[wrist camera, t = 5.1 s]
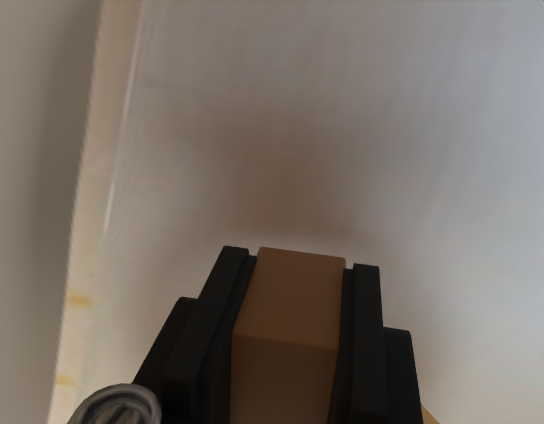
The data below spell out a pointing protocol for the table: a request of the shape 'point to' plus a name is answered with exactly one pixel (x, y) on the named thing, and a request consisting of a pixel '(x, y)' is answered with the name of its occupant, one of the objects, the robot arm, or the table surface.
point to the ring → (288, 340)
